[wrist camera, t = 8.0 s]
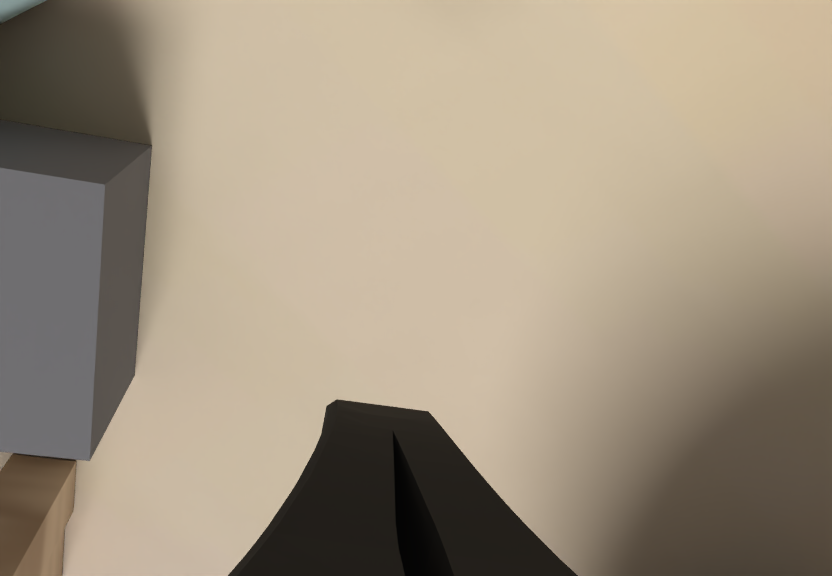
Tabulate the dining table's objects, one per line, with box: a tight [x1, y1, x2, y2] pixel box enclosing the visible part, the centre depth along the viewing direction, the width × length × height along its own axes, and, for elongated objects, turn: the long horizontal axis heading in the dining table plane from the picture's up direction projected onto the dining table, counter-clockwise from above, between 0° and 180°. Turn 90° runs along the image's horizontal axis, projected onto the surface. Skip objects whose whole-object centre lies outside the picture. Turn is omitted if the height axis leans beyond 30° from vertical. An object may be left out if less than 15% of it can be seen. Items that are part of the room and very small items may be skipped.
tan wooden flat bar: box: [0, 454, 76, 576], centre depth 15 cm, size 2×24×5 cm, turn 168°
